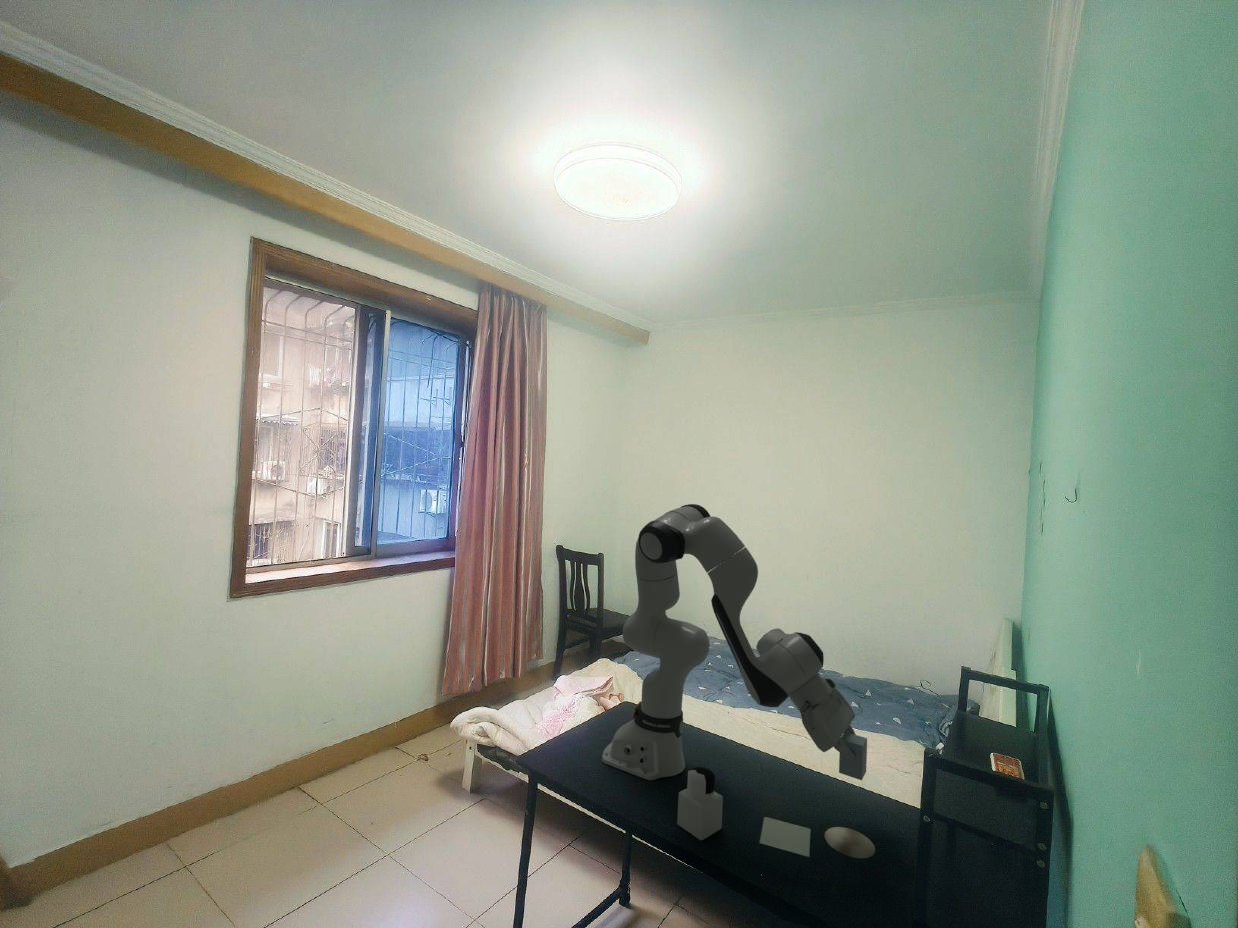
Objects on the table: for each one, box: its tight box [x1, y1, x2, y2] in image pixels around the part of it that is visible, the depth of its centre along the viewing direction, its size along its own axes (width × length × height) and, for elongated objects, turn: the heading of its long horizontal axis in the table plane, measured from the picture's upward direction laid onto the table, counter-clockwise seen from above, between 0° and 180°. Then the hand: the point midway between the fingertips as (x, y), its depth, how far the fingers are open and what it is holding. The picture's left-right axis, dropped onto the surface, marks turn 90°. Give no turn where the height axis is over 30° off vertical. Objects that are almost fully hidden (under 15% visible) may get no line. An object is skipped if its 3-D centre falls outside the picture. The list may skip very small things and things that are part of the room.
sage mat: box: [759, 816, 811, 858], centre depth 116 cm, size 10×10×1 cm
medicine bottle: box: [676, 766, 724, 841], centre depth 118 cm, size 7×7×12 cm
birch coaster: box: [824, 826, 876, 859], centre depth 115 cm, size 10×10×1 cm
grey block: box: [838, 732, 868, 781], centre depth 116 cm, size 5×5×7 cm
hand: (856, 753), depth 116 cm, fingers closed on grey block, 5 cm apart
